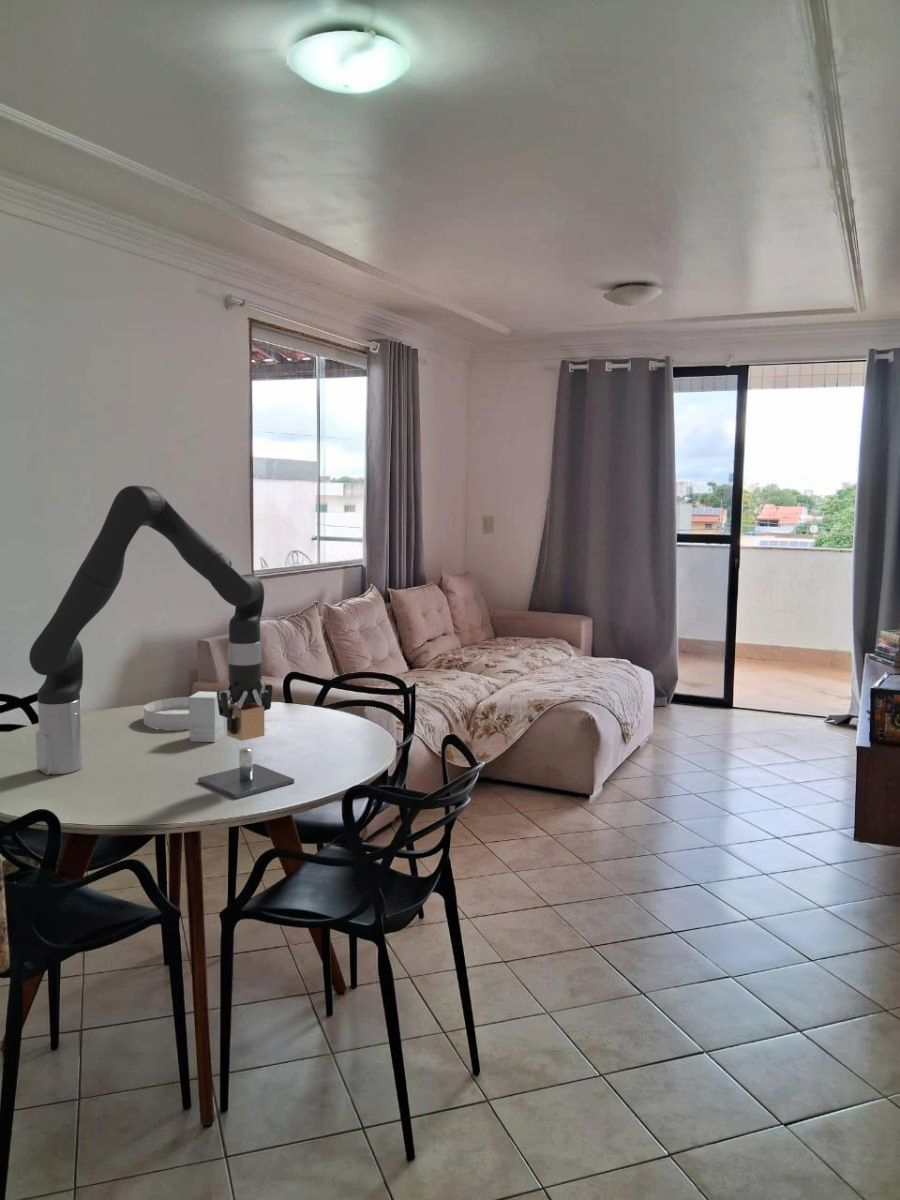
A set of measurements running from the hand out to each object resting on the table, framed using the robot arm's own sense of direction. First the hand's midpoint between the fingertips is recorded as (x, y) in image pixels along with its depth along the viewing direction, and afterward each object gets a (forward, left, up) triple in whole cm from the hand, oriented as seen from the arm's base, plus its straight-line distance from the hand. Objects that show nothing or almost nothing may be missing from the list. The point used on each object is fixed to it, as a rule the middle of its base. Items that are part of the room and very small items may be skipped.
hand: (245, 730), depth 203 cm
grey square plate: (0, 0, -13) cm, 13 cm away
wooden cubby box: (0, 0, -1) cm, 1 cm away
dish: (+18, +61, -13) cm, 65 cm away
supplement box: (+13, +39, -13) cm, 43 cm away
